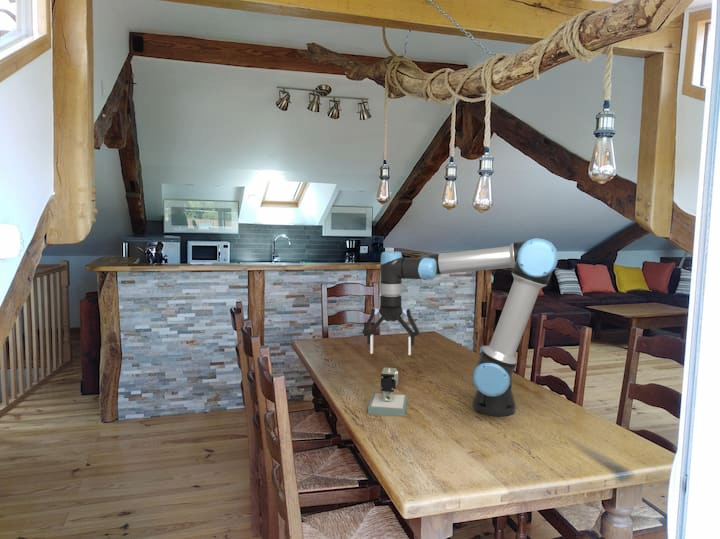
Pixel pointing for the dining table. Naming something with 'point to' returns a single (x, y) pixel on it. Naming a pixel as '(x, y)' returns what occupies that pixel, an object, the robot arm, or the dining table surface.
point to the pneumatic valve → (389, 382)
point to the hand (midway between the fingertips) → (390, 353)
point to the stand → (388, 405)
